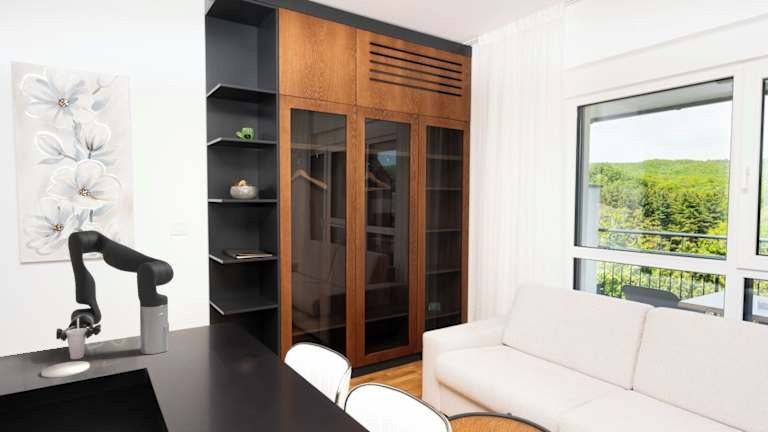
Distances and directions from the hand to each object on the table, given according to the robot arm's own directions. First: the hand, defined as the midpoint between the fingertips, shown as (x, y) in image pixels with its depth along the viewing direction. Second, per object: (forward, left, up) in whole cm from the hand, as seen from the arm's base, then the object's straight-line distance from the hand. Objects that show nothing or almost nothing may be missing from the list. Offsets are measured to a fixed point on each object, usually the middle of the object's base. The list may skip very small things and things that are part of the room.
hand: (75, 336), depth 160 cm
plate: (-1, +12, -8) cm, 14 cm away
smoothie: (0, -2, -8) cm, 9 cm away
